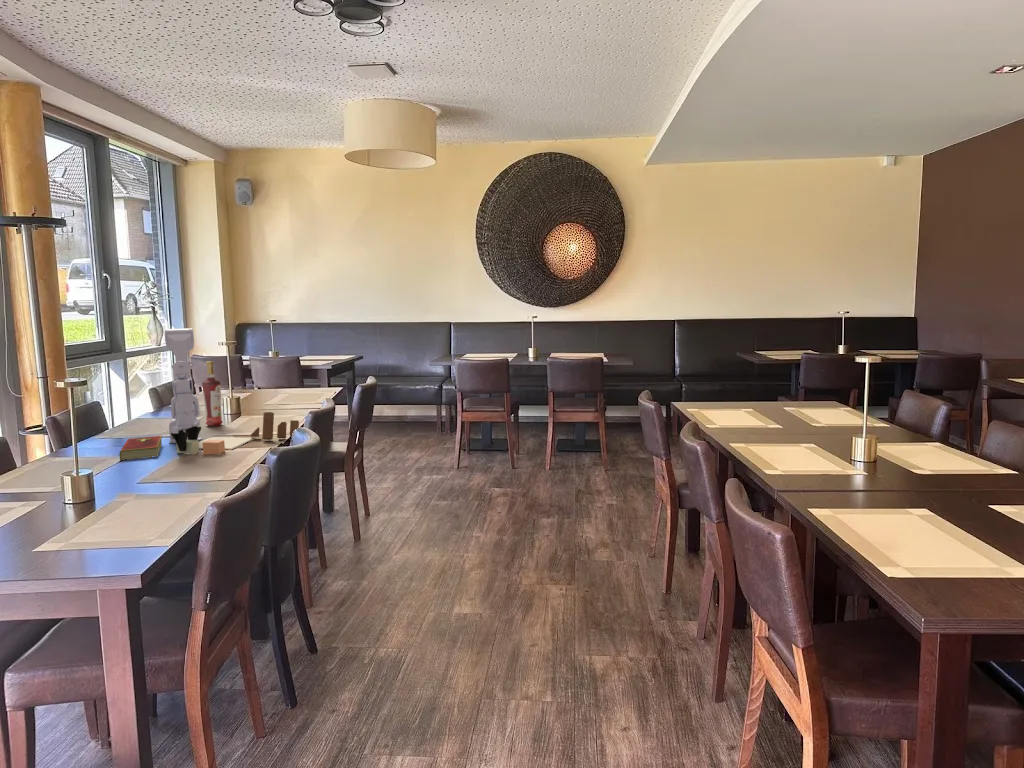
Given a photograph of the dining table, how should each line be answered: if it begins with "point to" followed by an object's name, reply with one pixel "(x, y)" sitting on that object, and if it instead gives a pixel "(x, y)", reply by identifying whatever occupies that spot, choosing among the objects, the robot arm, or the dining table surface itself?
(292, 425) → the wooden block set
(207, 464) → the dining table surface
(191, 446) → the sage block
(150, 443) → the hardcover book
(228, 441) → the build pad
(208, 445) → the terracotta block
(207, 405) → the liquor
